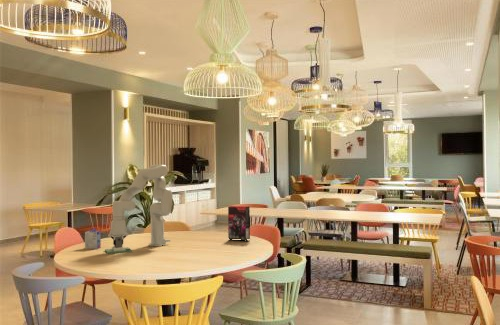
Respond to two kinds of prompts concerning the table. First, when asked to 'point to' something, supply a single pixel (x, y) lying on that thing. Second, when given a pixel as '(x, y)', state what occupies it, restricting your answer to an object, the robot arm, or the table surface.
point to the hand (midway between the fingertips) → (118, 245)
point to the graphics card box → (239, 222)
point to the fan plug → (118, 241)
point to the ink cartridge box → (93, 239)
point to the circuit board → (118, 250)
